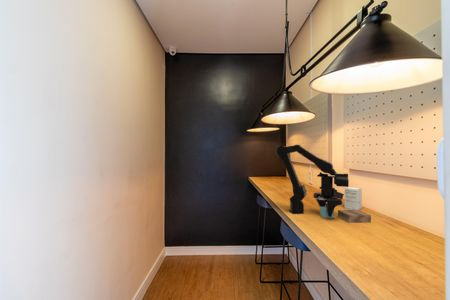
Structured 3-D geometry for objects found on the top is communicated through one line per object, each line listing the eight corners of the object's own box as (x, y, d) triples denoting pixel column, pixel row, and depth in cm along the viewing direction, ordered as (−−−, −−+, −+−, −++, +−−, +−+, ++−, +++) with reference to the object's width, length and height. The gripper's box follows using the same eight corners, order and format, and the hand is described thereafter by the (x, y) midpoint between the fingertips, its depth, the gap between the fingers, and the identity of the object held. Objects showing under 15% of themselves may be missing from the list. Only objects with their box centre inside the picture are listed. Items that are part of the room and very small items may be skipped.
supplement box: (349, 206, 142) (349, 186, 142) (362, 208, 136) (362, 188, 136) (344, 208, 137) (344, 187, 137) (357, 211, 131) (357, 189, 131)
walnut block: (349, 223, 109) (349, 215, 109) (337, 217, 119) (337, 209, 119) (370, 223, 110) (370, 215, 110) (357, 217, 120) (357, 209, 120)
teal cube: (324, 218, 117) (324, 208, 117) (319, 215, 122) (319, 206, 122) (333, 218, 117) (333, 208, 117) (328, 215, 122) (328, 206, 122)
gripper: (352, 188, 111) (352, 219, 111) (331, 182, 130) (331, 209, 129) (330, 188, 110) (330, 220, 110) (313, 183, 129) (312, 210, 129)
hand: (326, 214), depth 119 cm, fingers open, 6 cm apart
